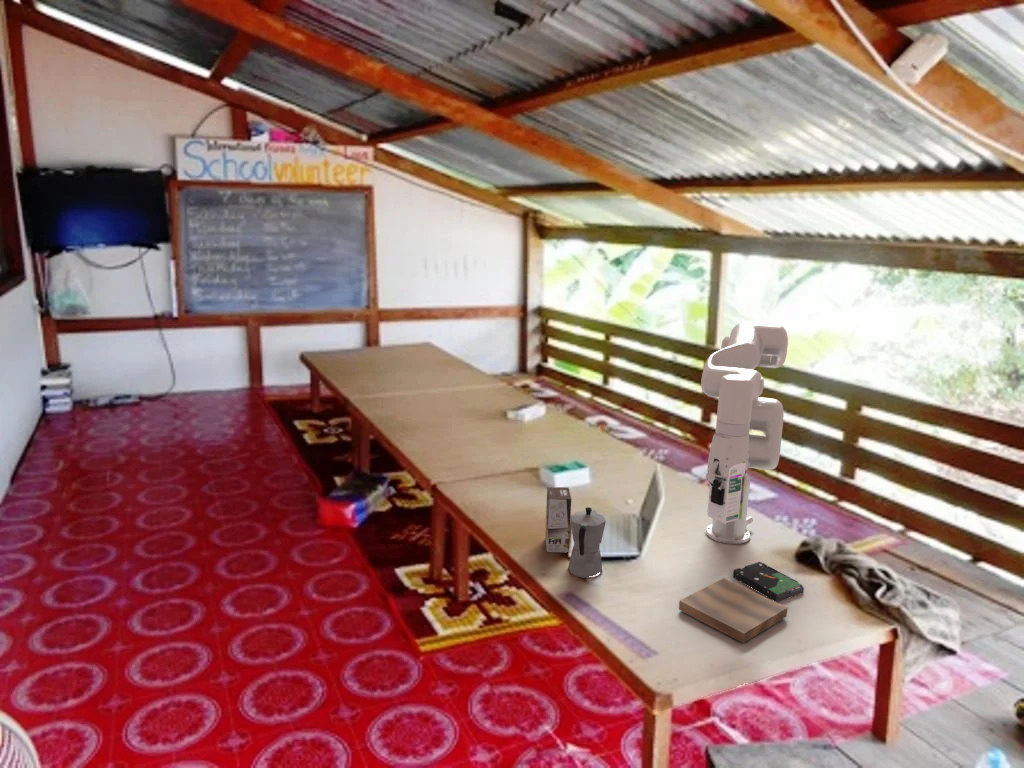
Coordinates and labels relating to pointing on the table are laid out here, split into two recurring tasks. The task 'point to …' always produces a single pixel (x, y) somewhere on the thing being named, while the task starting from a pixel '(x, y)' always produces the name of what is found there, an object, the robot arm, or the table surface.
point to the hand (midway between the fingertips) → (725, 499)
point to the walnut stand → (733, 609)
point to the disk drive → (768, 581)
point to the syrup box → (729, 496)
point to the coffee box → (558, 519)
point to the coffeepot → (586, 543)
